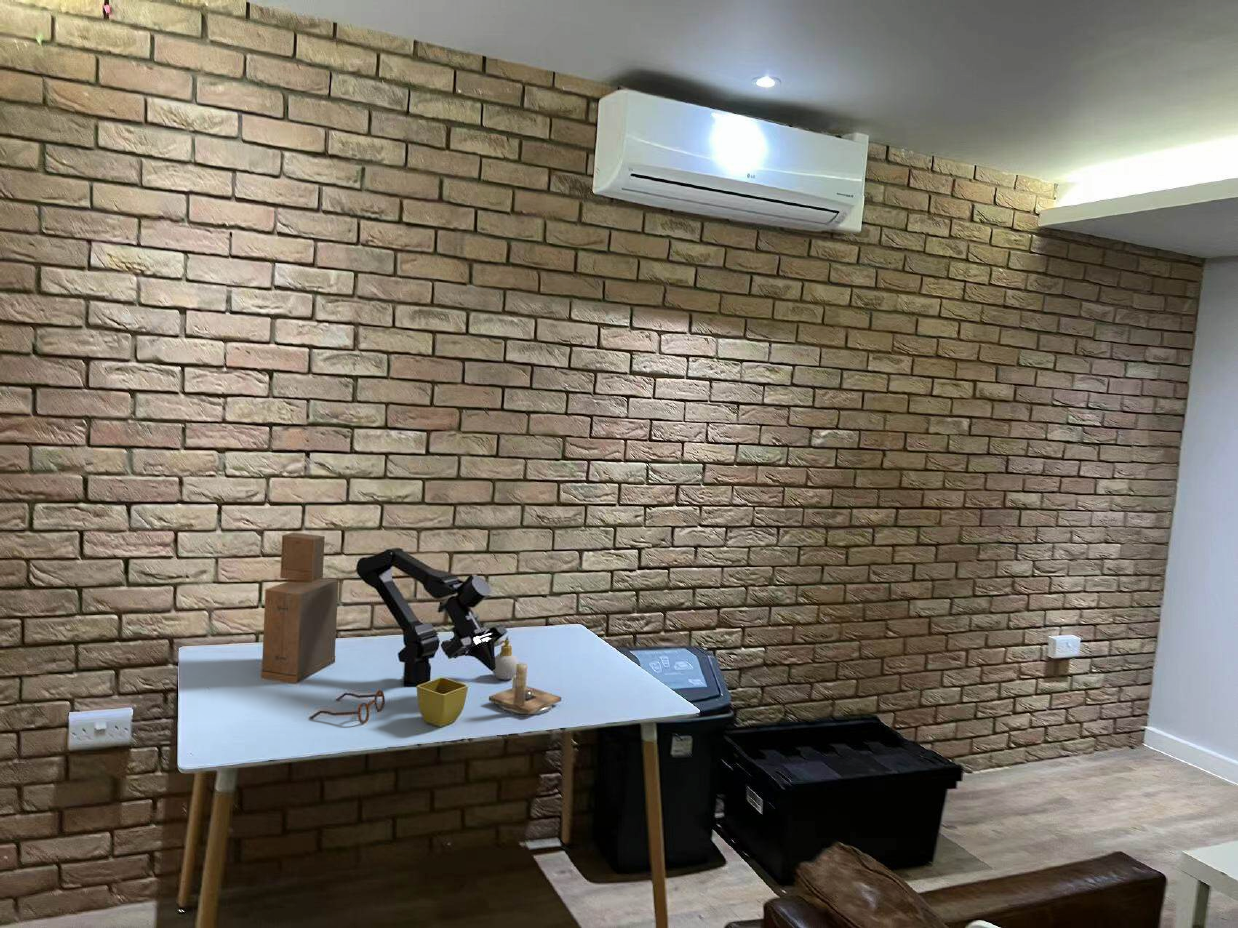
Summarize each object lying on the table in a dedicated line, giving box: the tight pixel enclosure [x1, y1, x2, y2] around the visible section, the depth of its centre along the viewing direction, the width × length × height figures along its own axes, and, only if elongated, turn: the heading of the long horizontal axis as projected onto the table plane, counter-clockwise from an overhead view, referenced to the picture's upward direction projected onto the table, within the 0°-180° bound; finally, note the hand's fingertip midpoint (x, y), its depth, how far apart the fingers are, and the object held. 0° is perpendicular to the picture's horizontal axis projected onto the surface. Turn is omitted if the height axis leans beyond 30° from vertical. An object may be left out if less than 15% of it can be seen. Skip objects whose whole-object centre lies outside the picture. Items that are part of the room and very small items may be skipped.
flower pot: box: [416, 676, 469, 728], centre depth 209 cm, size 9×9×9 cm
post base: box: [496, 676, 554, 716], centre depth 226 cm, size 14×17×4 cm
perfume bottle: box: [491, 636, 520, 681], centre depth 243 cm, size 8×10×12 cm
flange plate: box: [488, 662, 562, 714], centre depth 224 cm, size 13×13×11 cm
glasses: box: [308, 690, 386, 725], centre depth 211 cm, size 13×13×5 cm
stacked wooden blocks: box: [260, 532, 340, 684], centre depth 237 cm, size 19×14×35 cm
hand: (493, 669), depth 222 cm, fingers closed
